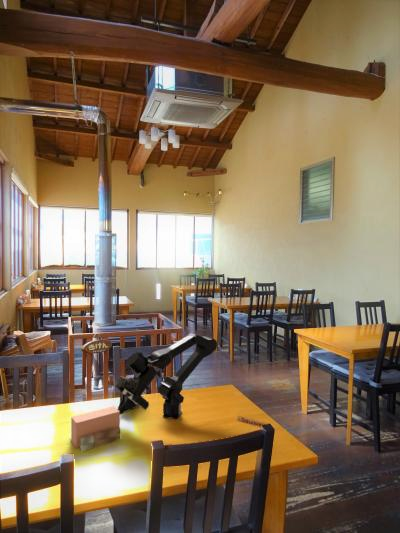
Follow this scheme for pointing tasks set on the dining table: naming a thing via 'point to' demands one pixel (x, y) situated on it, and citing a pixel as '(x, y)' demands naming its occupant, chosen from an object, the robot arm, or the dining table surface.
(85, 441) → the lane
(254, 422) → the chocolate bar
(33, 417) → the dining table surface
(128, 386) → the robot arm
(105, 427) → the block
